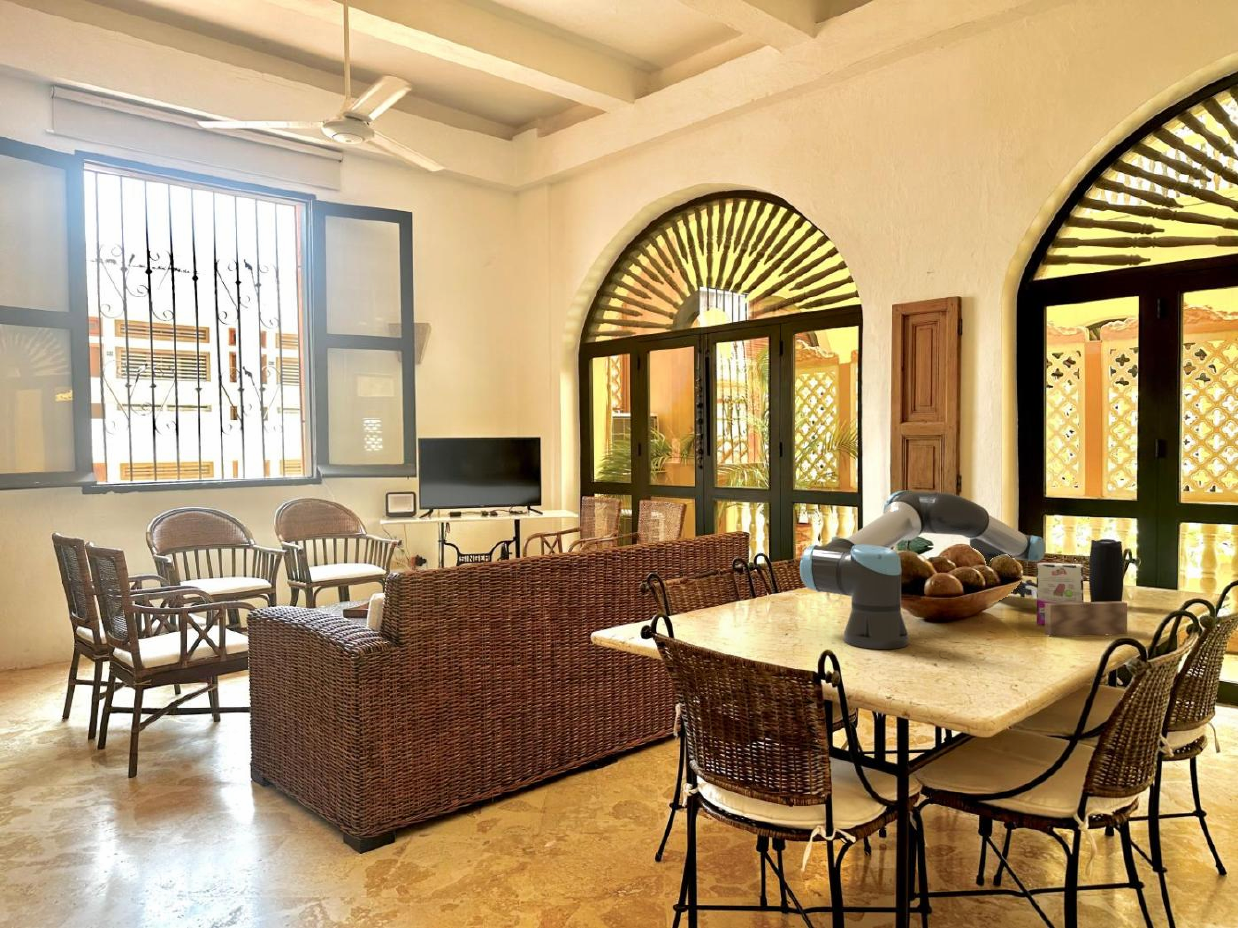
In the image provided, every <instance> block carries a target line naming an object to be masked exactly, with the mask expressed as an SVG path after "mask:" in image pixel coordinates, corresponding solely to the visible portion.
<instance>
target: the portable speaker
mask: <svg viewBox="0 0 1238 928" xmlns="http://www.w3.org/2000/svg"><path fill="white" fill-rule="evenodd" d="M1090 541H1091V543H1090V544H1091V545H1090V550H1089V551H1090V552H1089V560H1088V561H1089V562H1088V563H1089V566H1088V572H1089V573H1088V585H1089V586H1088V587H1089V588H1088V590H1089V591H1088V592H1089V599H1090V602H1112V601H1122V602H1123V594H1124V593H1123V592H1124V554H1123V544H1122V542H1123V541H1117V540H1115V539H1110V538H1109V539H1108V538H1101V539H1099V540H1098V539H1097V540H1095V539H1091V540H1090Z"/></svg>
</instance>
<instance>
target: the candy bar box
mask: <svg viewBox="0 0 1238 928" xmlns="http://www.w3.org/2000/svg"><path fill="white" fill-rule="evenodd" d="M1035 567H1036V574H1035V575H1036V584H1037V599H1036V625H1038V626H1045V603H1069V602H1085V601H1084V600H1085V599H1084V598H1085V597H1084V564H1083V563H1067V562H1066V563H1064V562H1059V563H1058V562H1041V561H1040V562H1039V561H1037V563H1036V565H1035Z"/></svg>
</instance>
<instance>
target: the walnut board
mask: <svg viewBox="0 0 1238 928" xmlns="http://www.w3.org/2000/svg"><path fill="white" fill-rule="evenodd" d="M1106 634H1112V635H1111V636H1118V635H1117V634H1127V635H1128V602H1124V601H1123V600H1122V601H1112V602H1091V601H1084V602H1069V603H1045V625H1044V635H1045V636H1047V635H1049V636H1048V637H1050V636H1059V637H1076V636H1075V635H1098V636H1107V635H1106ZM1069 635H1070V636H1069Z"/></svg>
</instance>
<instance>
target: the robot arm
mask: <svg viewBox="0 0 1238 928" xmlns="http://www.w3.org/2000/svg"><path fill="white" fill-rule="evenodd" d="M882 512H883V514H882V515H880V516H879V517H877V518H876V519H874V520H873V521H872V522H870V523H868V524H867V525H865V526H864V527H862V528H860V529H859V530H858V531H856V532H854V533H853V534H852V535H849V536H848V537H847V538H845V537H838V538H835V539H833V540H831V541H829V542H828V543H827V544H825V545H818V544H815V545H809V546H807V547H806V548H805V549H804V550H803V552H802V555H801V557H800V562H799V575H800V579H801V581H802V583H803V585H804V586H805V587H806V588H808V589H809V590H812V591H816V592H818V593H820V592H821V593H829V594H833V595H834V594H836V595H840V596H847V597H851V611H850V613H849V617H848V620H847V623H846V625H845V630H844V635H843V636H844V637H843V640H844V642H845V643H846V644H848V645H851V646H854V647H859V648H863V649H872V650H895V649H901V648H906V647H908V646H909V641H910V639H909V637H910V636H909V632H908V629H907V627H906V624H905V620H904V618H903V614H902V605H901V604H902V572H903V571H902V565H901V563H902V562H901V556H900V555H899V553H898V552H897V551H895V550H894V549H892V548H893V547H894V546H896V545H897V544H899V543H900V542H902V541H913V540H914V539H916V538H917V537H919V536H920V535H921V534H925V533H926V534H935V535H936V534H937V535H938V534H939V535H953V536H963V537H965V538H967V539H969V547H970V546H971V547H972V548H974V549H976V550H978V551H979V552H980V553H981V554H982V555H983V556H984V558H985V561H986V564H989V562H990V560H991V559H992V558H994V557H996V556H998V555H999V554H1000V555H1001V554H1009V556H1010V557H1011V558H1015V559H1014V560H1018V561H1019V560H1020V561H1027V562H1039V561H1040V562H1041V561H1042V560H1043V558H1044V556H1045V553H1046V543H1045V540H1044V539H1043V538H1042V537H1041V536H1037V535H1036V536H1035V535H1027V534H1025V533H1023V532H1021V531H1019V530H1017V529H1015V528H1013V527H1012V526H1011V525H1008V524H1006V523H1005V522H1003V521H1001V520H999V519H997V518H995V517H993V516H991V515H990V514H989V511H987V509H985V508H984V507H983V506H981V505H980V504H978V503H976V502H974V501H971V500H970V499H967V498H965V497H963V496H960V495H957V494H954V493H950V492H933V491H913V490H899V491H898V490H897V491H896V492H894V493H892V494H890V495H889V497H888V498H887V499H886V503H885V504H884V506H883V511H882ZM996 558H997V557H996ZM1010 594H1012V595H1020V598H1025V597H1026V596H1027V597H1030V598H1033V599H1036V600H1037V583H1035V582H1034V581H1032V580H1031V579H1027V580H1025V581H1024V582H1023V581H1022V580H1021V582H1020V584H1019V585H1018V586H1017V588H1016V589H1014V590H1013V592H1011V593H1010Z"/></svg>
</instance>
